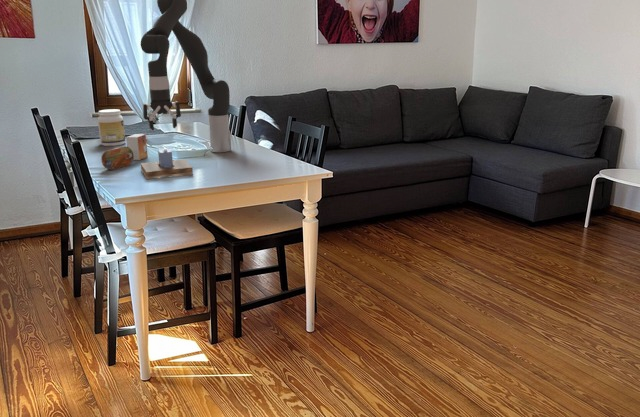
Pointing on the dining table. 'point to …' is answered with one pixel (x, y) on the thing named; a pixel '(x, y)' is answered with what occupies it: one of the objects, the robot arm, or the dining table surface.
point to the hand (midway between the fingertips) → (163, 128)
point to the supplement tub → (111, 127)
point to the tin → (117, 158)
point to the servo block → (165, 158)
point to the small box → (137, 146)
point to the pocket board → (166, 169)
